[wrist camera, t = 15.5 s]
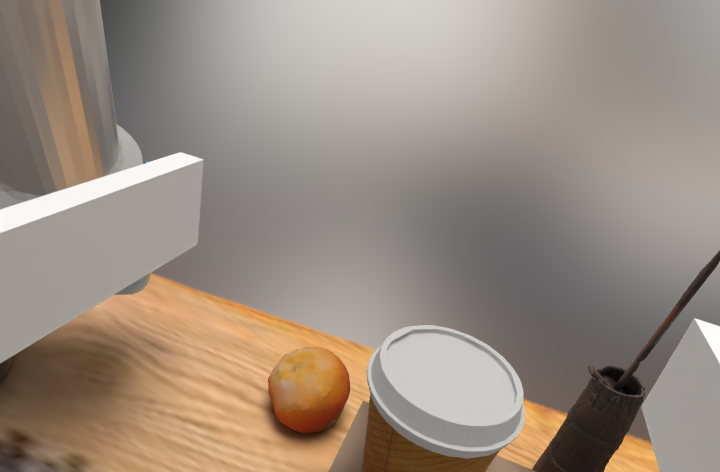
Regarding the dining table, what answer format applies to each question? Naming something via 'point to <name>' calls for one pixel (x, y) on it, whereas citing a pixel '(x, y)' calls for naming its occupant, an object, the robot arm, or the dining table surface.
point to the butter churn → (607, 406)
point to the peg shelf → (352, 450)
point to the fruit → (309, 389)
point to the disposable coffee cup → (439, 403)
